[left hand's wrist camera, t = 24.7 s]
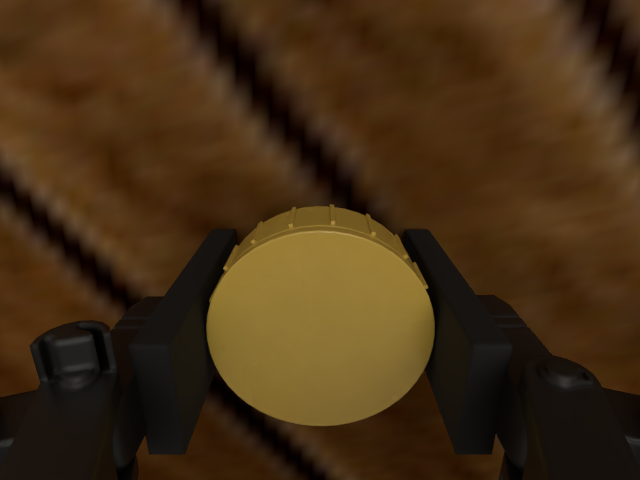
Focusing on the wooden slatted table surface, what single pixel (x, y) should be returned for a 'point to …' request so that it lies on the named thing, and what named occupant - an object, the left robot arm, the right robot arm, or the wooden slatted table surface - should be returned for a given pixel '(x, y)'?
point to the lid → (320, 318)
